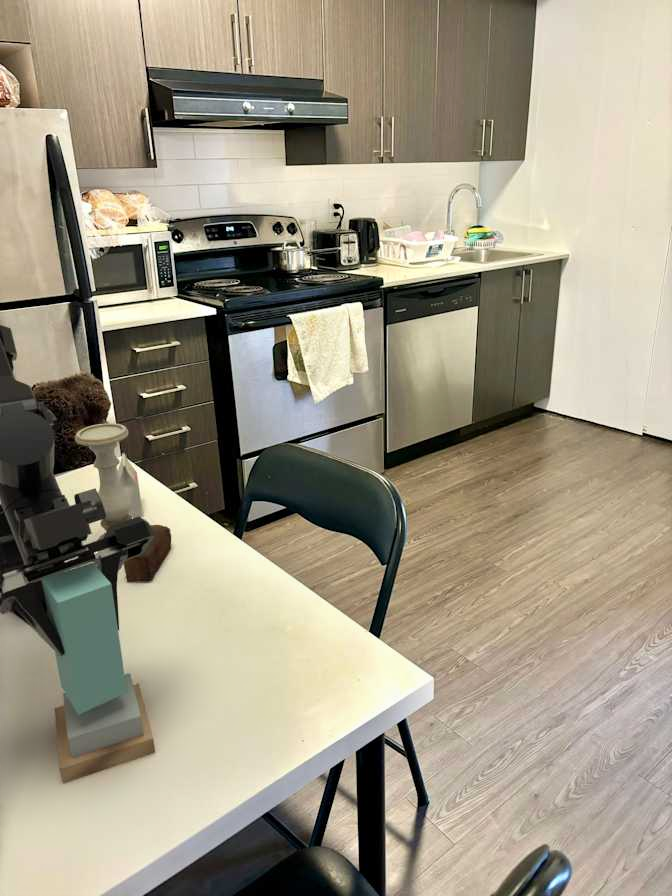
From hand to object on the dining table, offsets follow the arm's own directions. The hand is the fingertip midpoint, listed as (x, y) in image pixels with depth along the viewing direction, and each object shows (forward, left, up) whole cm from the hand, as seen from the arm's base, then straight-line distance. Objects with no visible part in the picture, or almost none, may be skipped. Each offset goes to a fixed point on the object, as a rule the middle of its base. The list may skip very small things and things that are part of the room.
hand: (90, 642), depth 66 cm
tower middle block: (-1, +1, -11) cm, 11 cm away
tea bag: (-23, +51, -13) cm, 57 cm away
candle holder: (-18, +38, -13) cm, 44 cm away
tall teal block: (-1, +1, -7) cm, 7 cm away
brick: (-12, +34, -13) cm, 39 cm away
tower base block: (-1, +1, -14) cm, 14 cm away
